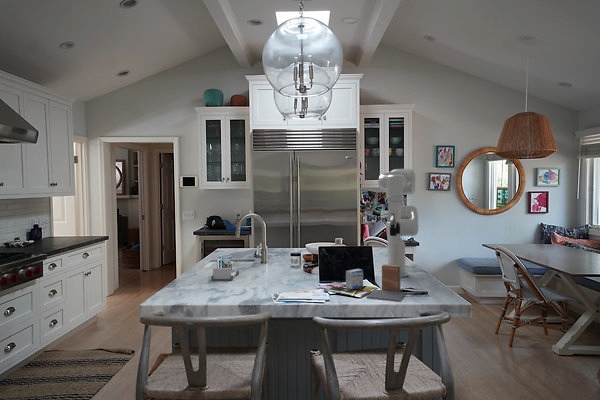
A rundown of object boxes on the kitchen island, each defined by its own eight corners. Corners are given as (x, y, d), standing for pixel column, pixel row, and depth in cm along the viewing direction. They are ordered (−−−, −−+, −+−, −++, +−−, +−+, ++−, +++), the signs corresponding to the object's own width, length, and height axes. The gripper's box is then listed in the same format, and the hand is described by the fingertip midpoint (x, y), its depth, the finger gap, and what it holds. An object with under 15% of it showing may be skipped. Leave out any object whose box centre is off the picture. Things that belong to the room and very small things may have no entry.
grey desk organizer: (220, 257, 234) (239, 257, 233) (220, 273, 235) (240, 274, 233) (210, 263, 216) (231, 263, 215) (211, 281, 217) (231, 281, 216)
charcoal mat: (374, 290, 192) (374, 289, 192) (406, 293, 186) (406, 292, 186) (366, 298, 180) (366, 296, 180) (400, 301, 173) (400, 300, 173)
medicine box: (351, 289, 194) (351, 272, 194) (345, 287, 198) (345, 270, 198) (363, 286, 199) (363, 269, 199) (357, 285, 203) (357, 268, 202)
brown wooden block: (383, 288, 195) (383, 264, 195) (400, 290, 192) (400, 265, 191) (381, 290, 191) (381, 266, 191) (398, 292, 188) (398, 267, 187)
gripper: (391, 198, 208) (391, 232, 209) (383, 200, 193) (383, 236, 193) (405, 198, 205) (405, 232, 206) (399, 200, 189) (399, 237, 190)
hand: (395, 234), depth 200 cm, fingers open, 7 cm apart
